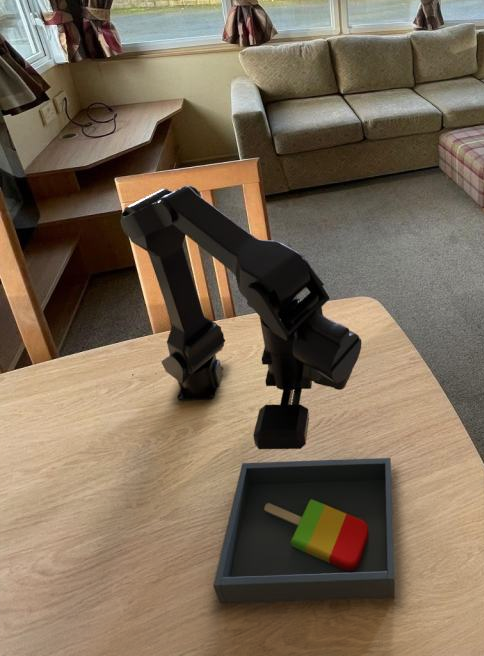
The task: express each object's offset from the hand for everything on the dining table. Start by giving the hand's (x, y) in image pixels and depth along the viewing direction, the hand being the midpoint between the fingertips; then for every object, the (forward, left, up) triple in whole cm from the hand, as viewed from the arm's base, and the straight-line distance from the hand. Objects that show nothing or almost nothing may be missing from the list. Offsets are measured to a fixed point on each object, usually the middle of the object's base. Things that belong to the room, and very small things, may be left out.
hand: (297, 415), depth 70 cm
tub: (+3, -10, -11) cm, 15 cm away
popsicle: (+3, -10, -11) cm, 14 cm away
